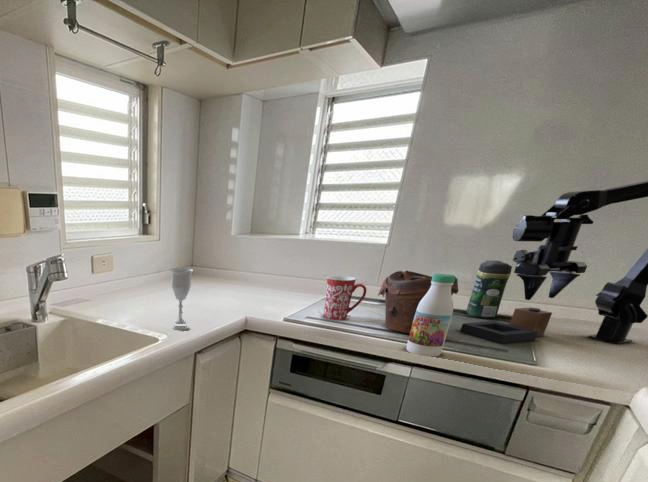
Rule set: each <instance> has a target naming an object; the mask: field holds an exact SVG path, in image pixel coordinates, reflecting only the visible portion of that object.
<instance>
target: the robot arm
mask: <svg viewBox="0 0 648 482" xmlns="http://www.w3.org/2000/svg"><path fill="white" fill-rule="evenodd" d="M643 198H648V180H644V181H640V182H635V183H631V184H630V183H629V184H625V185H619V186H616V187H615V186H614V187H610V188H606V189H596V190H595V189H594V190H593V189H592V190H579V191H568V192H565V193H563V194H560V196H559V198H557V199H556V201H555V204H553V205H552V206H551V207H550V208H548V209H547V210H546V211H544V213H542V214H541V215H533V214H532V215H530V214H527V215H525V214H524V215H522V217H521V220H519V221H518V222H517V223H516V226H515V227H514V228H513V232H512V240H513V241H514V242H543V241H544V240H545V239H546V240H545V243H544V244H540V246H538V248H537V250H536V251H535V250H534V251H529V250H527V249H520V250H516V251H515V253H514V256H513V258H512V261H513V262H514V263H516V266H515V267H514V271H513V274H516V276H517V277H519V278H520V279H521V280H522V282H523V290H524V300H526V301H531V300H532V298H533V297H534V296H535V295H536V294H537V292H538V290H539V289H540V288H541V286H542V285H543V284H544V282H546V279H547V278H548V276H546V275H548V273H549V274H550V276H551V278H552V281H551V284H550V288H549V293H548V298H549V299H554V298H556V296H557V295H559V293H561V292H562V291H564V289H565V288H566V287H568V285H570V284H571V283H572V282H573V281H575V280H576V279H577V278H578V277H580V276H581V274H585V273H586V270H587V268H588V265H587V264H586V262H583V261H576V260H575V261H574V260H569V259H570V256H571V253H572V252H573V251H577V250H578V246H577V245H575V244H576V240H577V238H578V235H579V232H580V230H581V227H582V225H593V224H594V220H593V219H592V218H590V217H589V214H588V213H591V212H594V211H597V210H600V209H601V208H604V207H606V206H610V205H612V204H619V203H624V202H629V201H634V200H638V199H643ZM574 216H577V217H574ZM555 220H559V221H555ZM647 288H648V248H647V249H646V250H645V251H644V252H643V254H642V255H641V256H640V257H639V259H637V261H636V262H635V263H634V264H633V265H632V267H631V268H630V269H629V270H628V272H627V273H626V274H625V275H624V276H623V278H620V280H617V281H616V282H615V283H613V282H609V281H608V282H607V283H605V284H604V286H603V287H602V289H601V290H600V292H598V293H597V294H596V295H595V296H596V299H595V301H594V303H595V306H596V308H597V311H598V312H597V313H598V314H597V315H599V316H603V319H602V321H601V323H600V325H599V328H598V330H597V331H596V334H591V335H588V338H590V339H594V340H599V341H602V342H607V343H611V344H615V345H616V344H626V343H627V344H628V343H633V340H632V339H628V338H627V337H628V336H629V333H630V331H631V329H632V327H633V325H634V324H642V323H643V322H644V321H645V320H646V319H648V314H647V313H646V312H645V310H644V309H643V308H642V307H641V304H642V303H643V301H644V300H645V298H646V295H647V290H648V289H647Z"/></svg>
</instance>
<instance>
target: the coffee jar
mask: <svg viewBox="0 0 648 482" xmlns="http://www.w3.org/2000/svg"><path fill="white" fill-rule="evenodd" d="M512 270H513V266H512V265H510V264H509V263H507V262H503V261H501V260H485V261H483V262H481V263H480V265H479V268H478V270H477V274H476V277H475V281H474V284H473V288H472V291H471V294H470V297H469V301H468V303H467V307H466V313H467V314H468V316H471V317H473V318H474V317H475V318H479V319H485V320H486V319H495V318H496V317H497V316H498V312H499V309H500V305H501V303H502V300H503V295H504V293H505V290H506V286H507V283H508V280H509V278H510V277H511V274H512Z"/></svg>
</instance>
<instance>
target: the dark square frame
mask: <svg viewBox="0 0 648 482" xmlns="http://www.w3.org/2000/svg"><path fill="white" fill-rule="evenodd" d="M459 331H460V332H461V333H464V334H468V335H471V336H474V337H477V338H481V339H485V340H489V341H490V342H491V341H492V342H495V343H498V344H511V343H520V342H530V341H536V338H537V337H536V335H537V333H538V332H537V331H533V330H529V329H525V328H521V327H517V326H513V325H510V323H509V324H508V323H504V322H501V321H496V320H488V321H476V322H465V323H462V324H461V327H460V330H459Z"/></svg>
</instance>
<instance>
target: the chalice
mask: <svg viewBox="0 0 648 482" xmlns="http://www.w3.org/2000/svg"><path fill="white" fill-rule="evenodd" d="M193 272H194V269H192V268H187V267H174V268H170V273H171V289H172V292H173V294H174V297H175V299H176V300H177V301H178V306H177V307H178V311H177V314H178V318H177V319H175V320H174V322H173V324H174V323H176V324H187V322H186V320H185V319H183V317H182V316H183V314H184V312H183V307H184V306H183V301H185V300H186V299H187V296H188V295H189V292H190V290H191V286H192V273H193ZM173 324H172V327H171V328H172V329H173V330H178V331H179V330H180V331H181V330H183V331H184V330H187V329H188V328H189V327H188V324H187V325H186V326H175V325H173Z"/></svg>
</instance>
